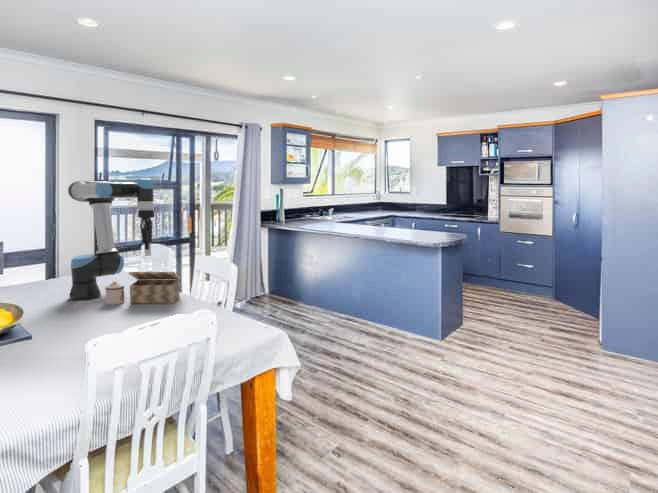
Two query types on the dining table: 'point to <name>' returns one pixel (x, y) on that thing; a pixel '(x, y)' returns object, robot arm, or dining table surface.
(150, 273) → the lid flap
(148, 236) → the robot arm
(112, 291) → the teacup with lid
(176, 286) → the wicker basket box
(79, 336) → the dining table surface
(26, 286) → the dining table surface
